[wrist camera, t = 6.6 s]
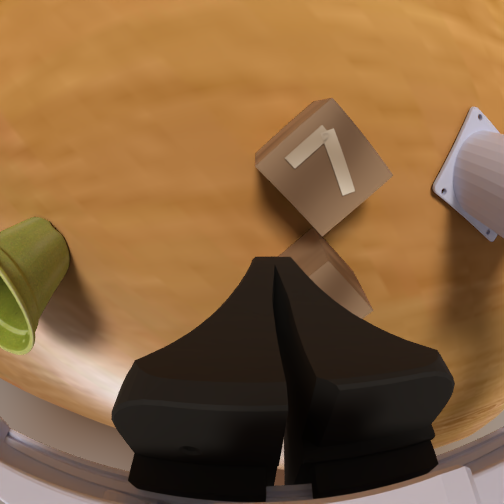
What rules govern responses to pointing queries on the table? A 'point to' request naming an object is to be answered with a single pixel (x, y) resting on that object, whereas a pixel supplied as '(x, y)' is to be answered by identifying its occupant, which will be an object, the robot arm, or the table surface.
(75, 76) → the table surface
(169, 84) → the table surface
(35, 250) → the plant pot
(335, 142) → the block seven
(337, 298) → the plain block
